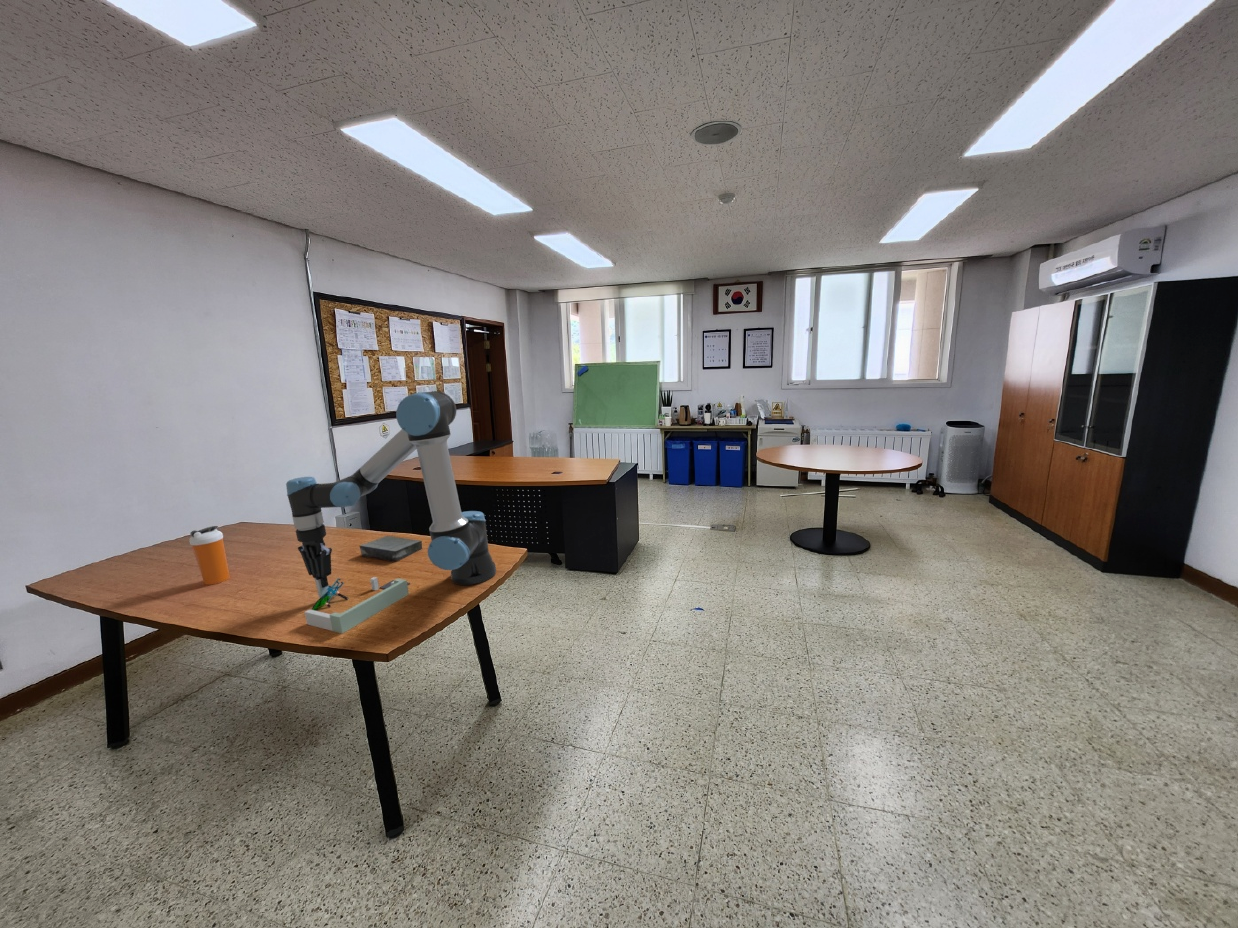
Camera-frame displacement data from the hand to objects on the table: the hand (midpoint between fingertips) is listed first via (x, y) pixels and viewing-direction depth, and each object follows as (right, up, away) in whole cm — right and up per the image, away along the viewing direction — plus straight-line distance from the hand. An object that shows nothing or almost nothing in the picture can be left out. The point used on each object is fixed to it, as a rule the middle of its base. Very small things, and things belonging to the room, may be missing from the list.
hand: (324, 595), depth 142 cm
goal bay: (+20, -2, -8) cm, 22 cm away
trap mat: (+19, +1, +8) cm, 20 cm away
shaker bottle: (-53, -1, +20) cm, 56 cm away
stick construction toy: (+4, -2, -1) cm, 5 cm away
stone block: (+3, +6, +38) cm, 38 cm away
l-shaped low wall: (+13, -2, -5) cm, 15 cm away
